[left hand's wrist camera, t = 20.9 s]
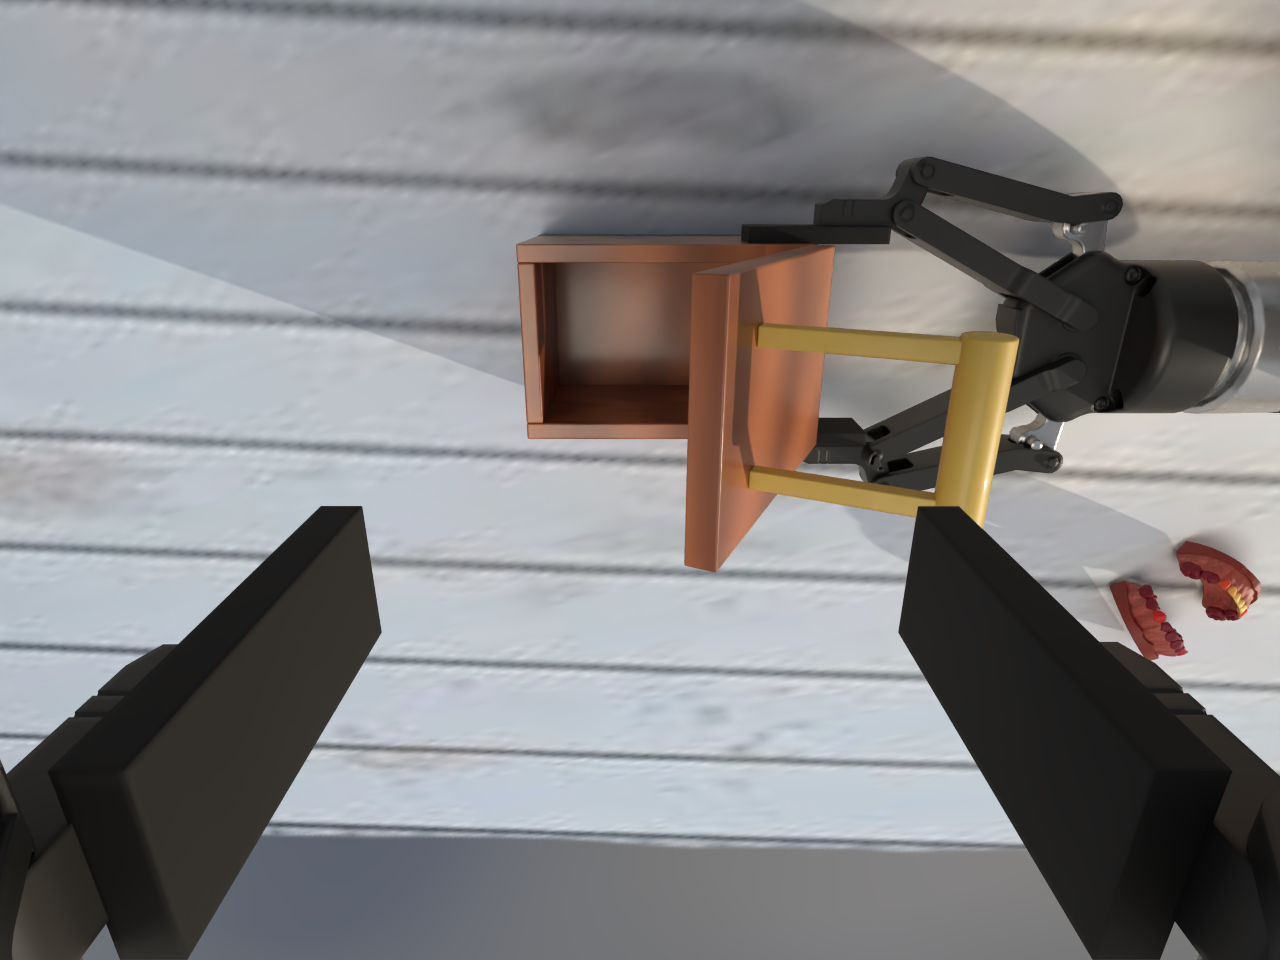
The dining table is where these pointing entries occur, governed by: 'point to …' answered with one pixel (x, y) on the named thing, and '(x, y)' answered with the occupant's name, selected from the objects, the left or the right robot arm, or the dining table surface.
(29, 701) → the dining table surface
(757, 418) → the lid
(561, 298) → the chest
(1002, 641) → the left robot arm
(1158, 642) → the dental model
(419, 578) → the dining table surface
